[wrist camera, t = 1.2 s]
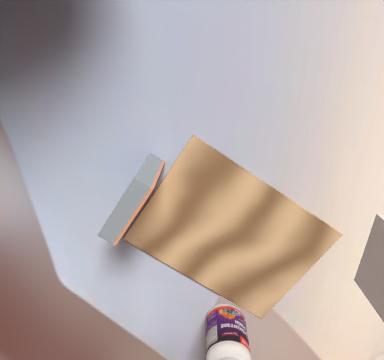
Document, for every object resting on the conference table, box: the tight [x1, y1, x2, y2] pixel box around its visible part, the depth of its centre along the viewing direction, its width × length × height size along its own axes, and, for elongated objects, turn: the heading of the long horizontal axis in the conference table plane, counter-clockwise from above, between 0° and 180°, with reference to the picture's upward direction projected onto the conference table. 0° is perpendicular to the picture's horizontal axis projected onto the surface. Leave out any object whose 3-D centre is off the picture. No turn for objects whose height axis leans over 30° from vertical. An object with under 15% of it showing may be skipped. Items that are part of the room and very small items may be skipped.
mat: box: [124, 135, 342, 319], centre depth 39 cm, size 22×16×1 cm
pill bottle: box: [206, 303, 251, 360], centre depth 39 cm, size 5×5×10 cm
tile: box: [97, 153, 165, 246], centre depth 33 cm, size 2×7×9 cm, turn 147°
